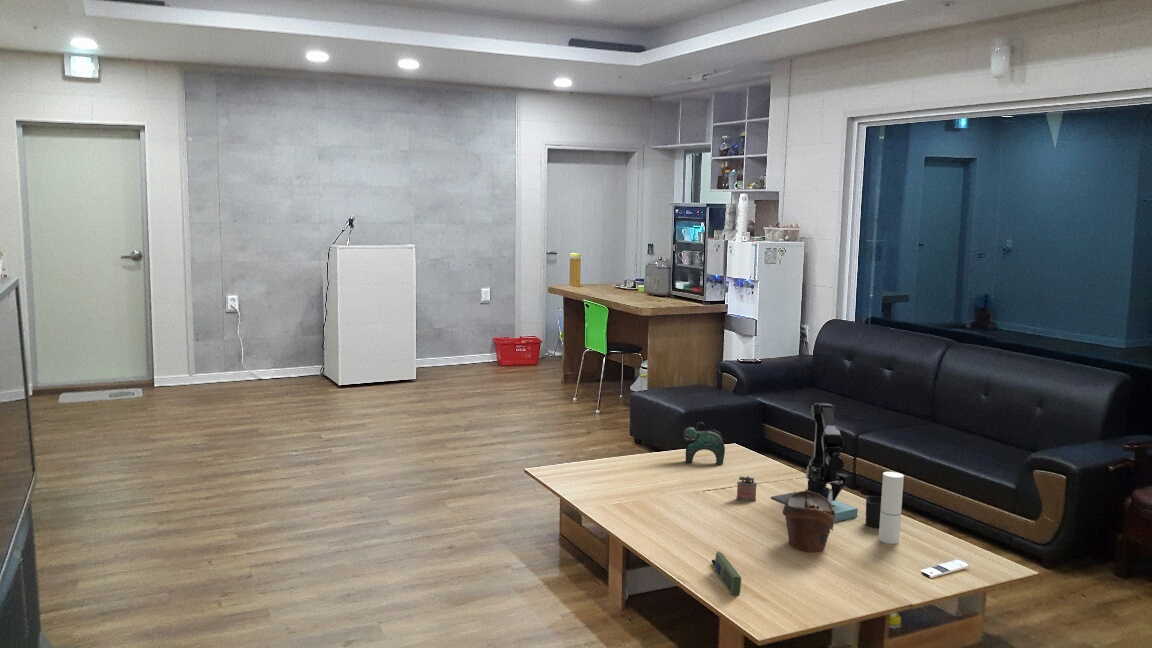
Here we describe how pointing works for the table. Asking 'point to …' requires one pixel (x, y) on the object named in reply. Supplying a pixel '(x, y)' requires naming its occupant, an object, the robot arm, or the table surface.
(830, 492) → the steel pin
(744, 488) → the lighter
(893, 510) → the cylindrical container
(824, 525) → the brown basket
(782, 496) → the rubber mat
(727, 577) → the handheld radio
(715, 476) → the table surface
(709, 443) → the ceramic cat
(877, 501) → the pen holder
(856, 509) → the teal square hole block
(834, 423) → the robot arm
